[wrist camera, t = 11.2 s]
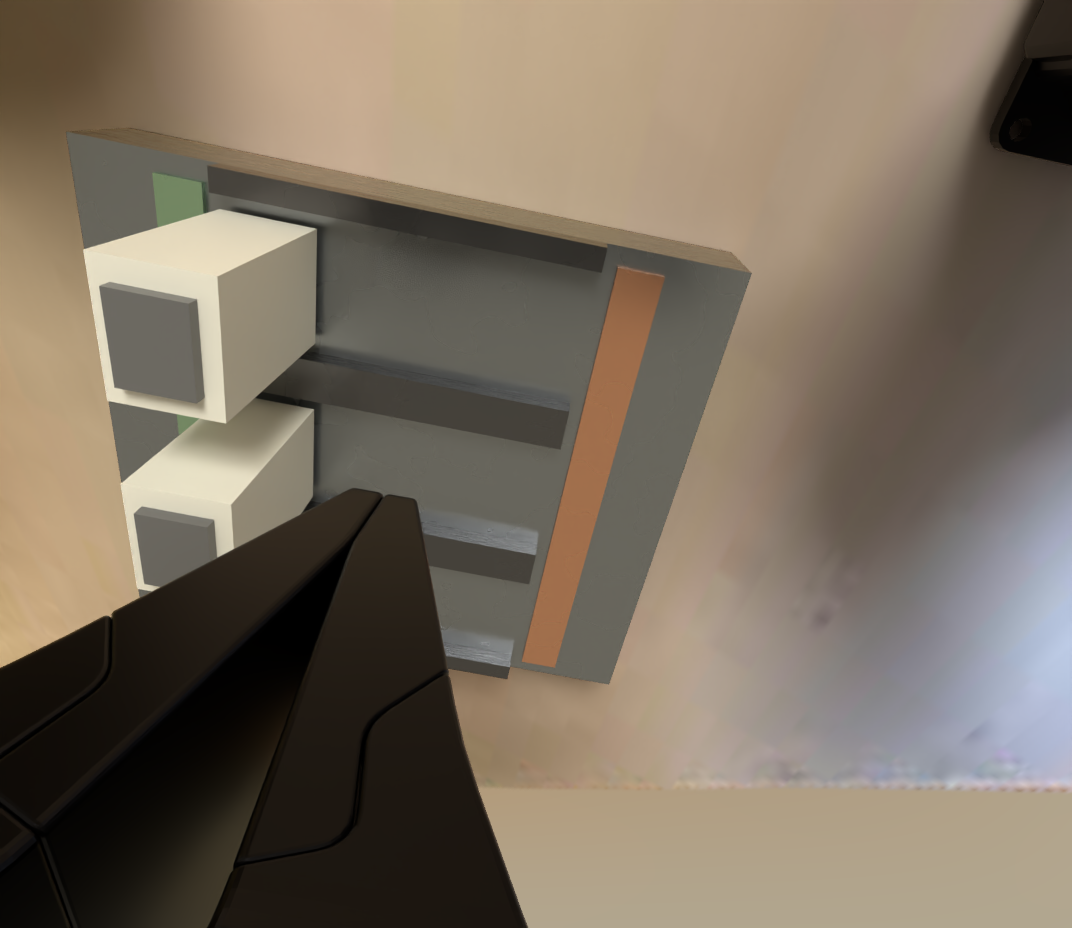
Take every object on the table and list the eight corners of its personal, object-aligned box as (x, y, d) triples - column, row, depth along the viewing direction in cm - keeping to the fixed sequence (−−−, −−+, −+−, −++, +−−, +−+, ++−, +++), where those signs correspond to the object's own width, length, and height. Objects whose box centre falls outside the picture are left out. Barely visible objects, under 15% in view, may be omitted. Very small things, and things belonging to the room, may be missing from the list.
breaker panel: (731, 252, 18) (757, 278, 16) (606, 634, 26) (609, 697, 23) (129, 127, 18) (47, 132, 15) (178, 556, 25) (129, 610, 22)
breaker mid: (314, 409, 18) (224, 512, 14) (312, 496, 20) (231, 615, 15) (229, 393, 18) (111, 491, 14) (235, 481, 20) (129, 597, 15)
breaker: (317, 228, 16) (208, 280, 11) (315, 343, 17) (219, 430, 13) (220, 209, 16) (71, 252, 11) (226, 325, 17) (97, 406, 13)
